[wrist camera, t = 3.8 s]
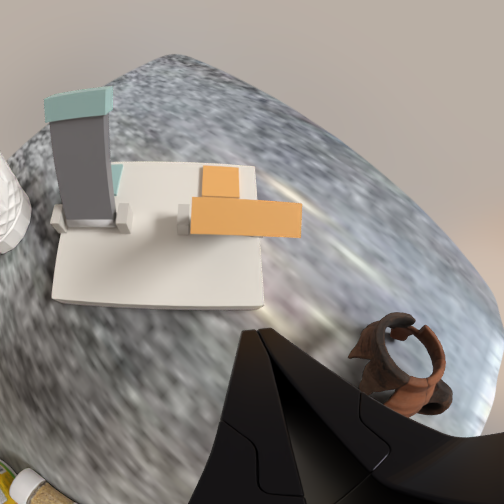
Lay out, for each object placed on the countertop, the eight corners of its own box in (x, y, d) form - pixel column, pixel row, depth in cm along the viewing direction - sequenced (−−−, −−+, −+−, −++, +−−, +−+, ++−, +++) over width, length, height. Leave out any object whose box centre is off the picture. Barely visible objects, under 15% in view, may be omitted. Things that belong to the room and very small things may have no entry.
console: (260, 309, 21) (274, 300, 18) (60, 303, 18) (38, 293, 14) (252, 179, 25) (261, 154, 22) (83, 176, 22) (72, 151, 18)
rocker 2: (249, 232, 21) (300, 238, 11) (191, 230, 20) (190, 233, 10) (250, 214, 21) (302, 203, 11) (192, 211, 20) (192, 196, 10)
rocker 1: (116, 231, 18) (105, 89, 11) (66, 231, 17) (44, 99, 10) (120, 220, 19) (113, 85, 12) (72, 220, 18) (54, 94, 11)
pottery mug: (306, 417, 19) (357, 375, 14) (335, 340, 26) (375, 285, 21) (412, 453, 16) (477, 420, 11) (422, 379, 24) (470, 335, 19)
